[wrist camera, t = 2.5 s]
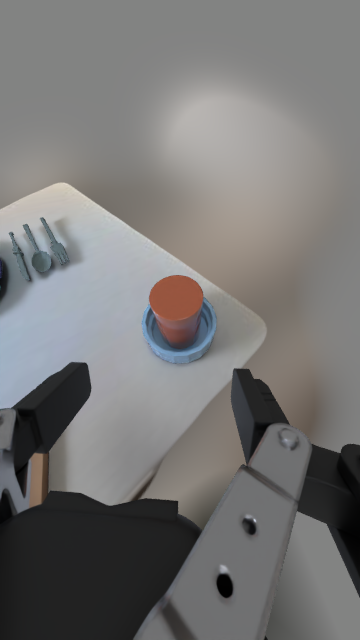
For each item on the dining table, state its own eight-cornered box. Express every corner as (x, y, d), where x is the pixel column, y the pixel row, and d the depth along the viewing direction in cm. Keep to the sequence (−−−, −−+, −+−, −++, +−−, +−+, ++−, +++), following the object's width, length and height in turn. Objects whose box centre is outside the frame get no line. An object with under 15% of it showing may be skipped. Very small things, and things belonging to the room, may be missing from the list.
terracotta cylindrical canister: (206, 321, 28) (211, 285, 21) (189, 356, 26) (188, 329, 19) (172, 307, 30) (165, 268, 22) (153, 338, 27) (138, 307, 20)
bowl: (223, 318, 29) (227, 304, 26) (196, 377, 26) (196, 370, 22) (167, 296, 32) (164, 280, 28) (135, 347, 28) (127, 336, 24)
